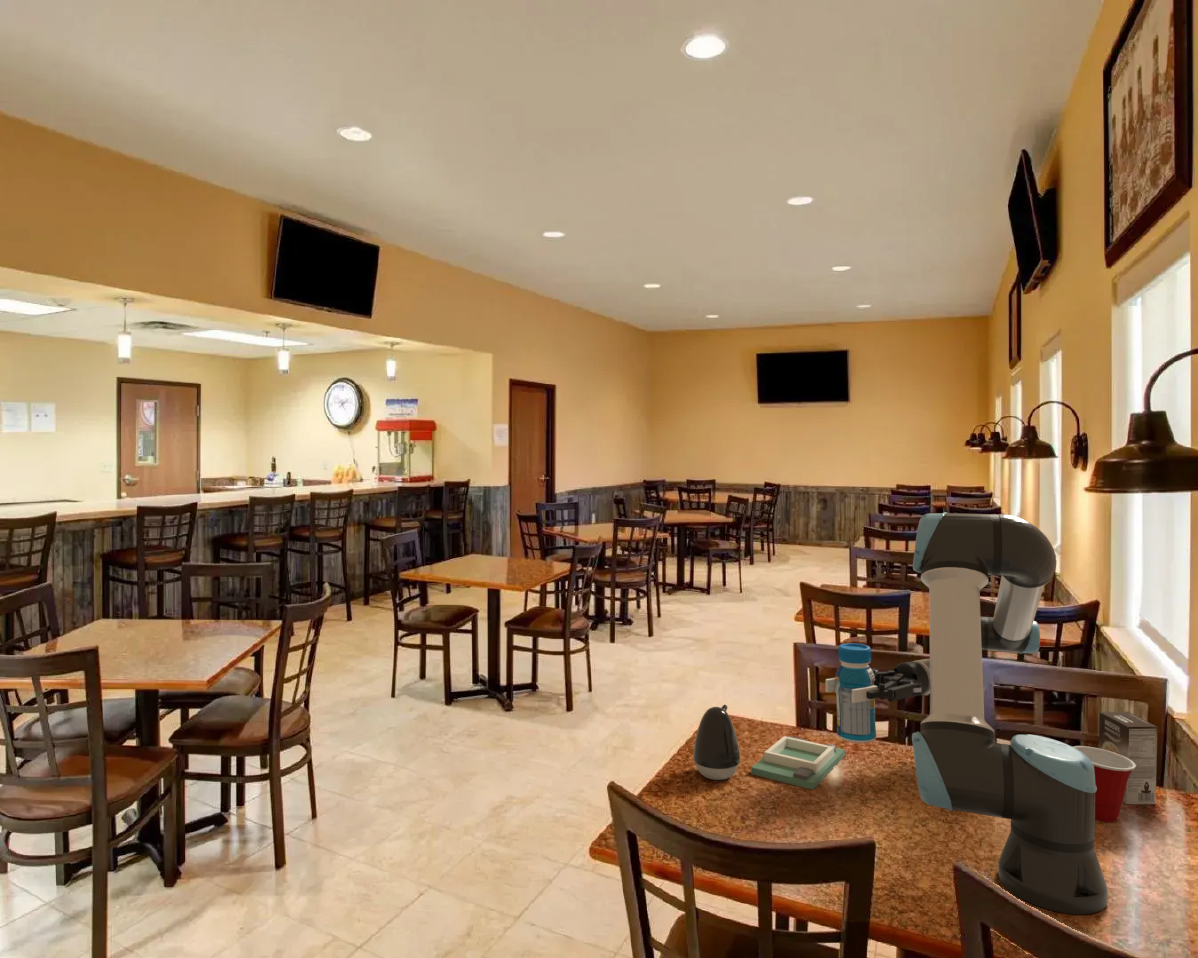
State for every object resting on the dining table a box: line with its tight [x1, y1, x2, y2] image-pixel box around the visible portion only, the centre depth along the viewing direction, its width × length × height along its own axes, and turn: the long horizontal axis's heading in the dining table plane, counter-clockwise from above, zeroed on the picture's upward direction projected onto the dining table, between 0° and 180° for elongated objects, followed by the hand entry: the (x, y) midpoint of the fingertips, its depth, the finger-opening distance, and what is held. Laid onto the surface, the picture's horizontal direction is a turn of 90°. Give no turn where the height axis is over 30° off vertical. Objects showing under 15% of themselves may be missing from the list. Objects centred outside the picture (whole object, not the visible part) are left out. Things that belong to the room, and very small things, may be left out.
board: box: [750, 735, 846, 791], centre depth 170 cm, size 22×14×4 cm, turn 145°
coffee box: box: [1098, 711, 1158, 805], centre depth 154 cm, size 9×6×16 cm
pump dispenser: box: [692, 704, 741, 781], centre depth 164 cm, size 10×10×15 cm
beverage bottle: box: [834, 642, 877, 744], centre depth 162 cm, size 8×8×20 cm
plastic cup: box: [1073, 745, 1136, 823], centre depth 145 cm, size 11×11×12 cm
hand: (839, 690), depth 160 cm, fingers closed on beverage bottle, 7 cm apart
